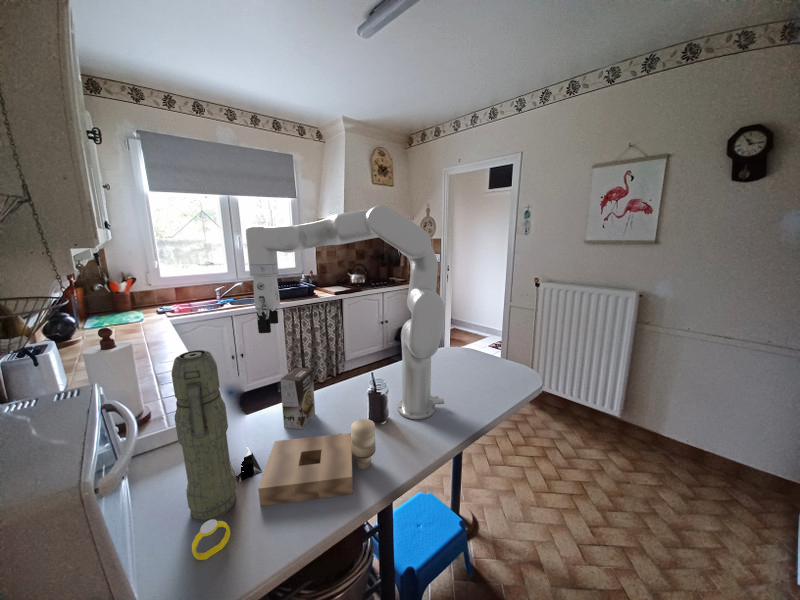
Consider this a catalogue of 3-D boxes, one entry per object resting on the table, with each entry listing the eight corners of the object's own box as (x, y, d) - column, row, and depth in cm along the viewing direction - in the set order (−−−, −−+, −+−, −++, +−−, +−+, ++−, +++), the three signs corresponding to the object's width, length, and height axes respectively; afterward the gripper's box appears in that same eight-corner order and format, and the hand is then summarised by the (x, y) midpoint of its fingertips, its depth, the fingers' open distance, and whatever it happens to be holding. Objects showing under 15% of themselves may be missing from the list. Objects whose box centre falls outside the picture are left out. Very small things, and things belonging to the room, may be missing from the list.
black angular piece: (225, 461, 82) (223, 446, 81) (254, 449, 86) (253, 434, 85) (236, 490, 72) (234, 473, 71) (268, 475, 77) (266, 459, 76)
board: (351, 447, 86) (351, 433, 85) (352, 493, 71) (352, 476, 70) (276, 455, 83) (274, 441, 82) (260, 506, 67) (258, 488, 66)
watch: (198, 569, 55) (190, 544, 53) (193, 558, 57) (186, 533, 55) (234, 544, 59) (228, 519, 57) (228, 534, 61) (223, 510, 59)
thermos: (191, 537, 60) (163, 370, 53) (189, 496, 70) (165, 350, 63) (241, 514, 65) (222, 359, 58) (233, 479, 75) (215, 341, 68)
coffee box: (302, 430, 94) (298, 380, 91) (283, 427, 95) (279, 379, 92) (316, 413, 103) (313, 368, 99) (298, 411, 104) (295, 366, 101)
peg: (374, 454, 83) (374, 417, 81) (376, 471, 77) (376, 432, 75) (351, 457, 82) (350, 420, 80) (352, 474, 76) (350, 434, 74)
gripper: (270, 273, 80) (276, 336, 84) (283, 267, 97) (287, 319, 100) (239, 274, 79) (246, 337, 82) (258, 267, 96) (263, 320, 99)
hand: (269, 327), depth 91 cm, fingers open, 9 cm apart
